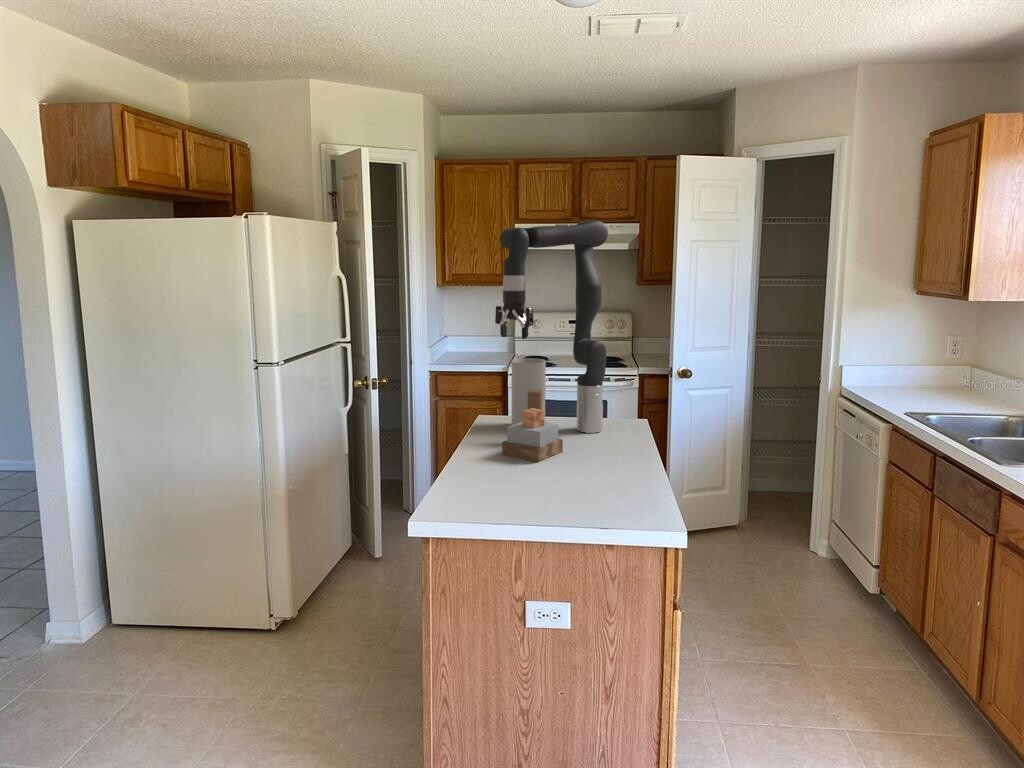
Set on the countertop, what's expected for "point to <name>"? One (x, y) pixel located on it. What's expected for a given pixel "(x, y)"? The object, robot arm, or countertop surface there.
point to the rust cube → (533, 418)
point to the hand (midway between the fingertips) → (514, 337)
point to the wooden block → (535, 399)
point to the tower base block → (532, 450)
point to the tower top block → (532, 434)
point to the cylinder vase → (526, 384)
